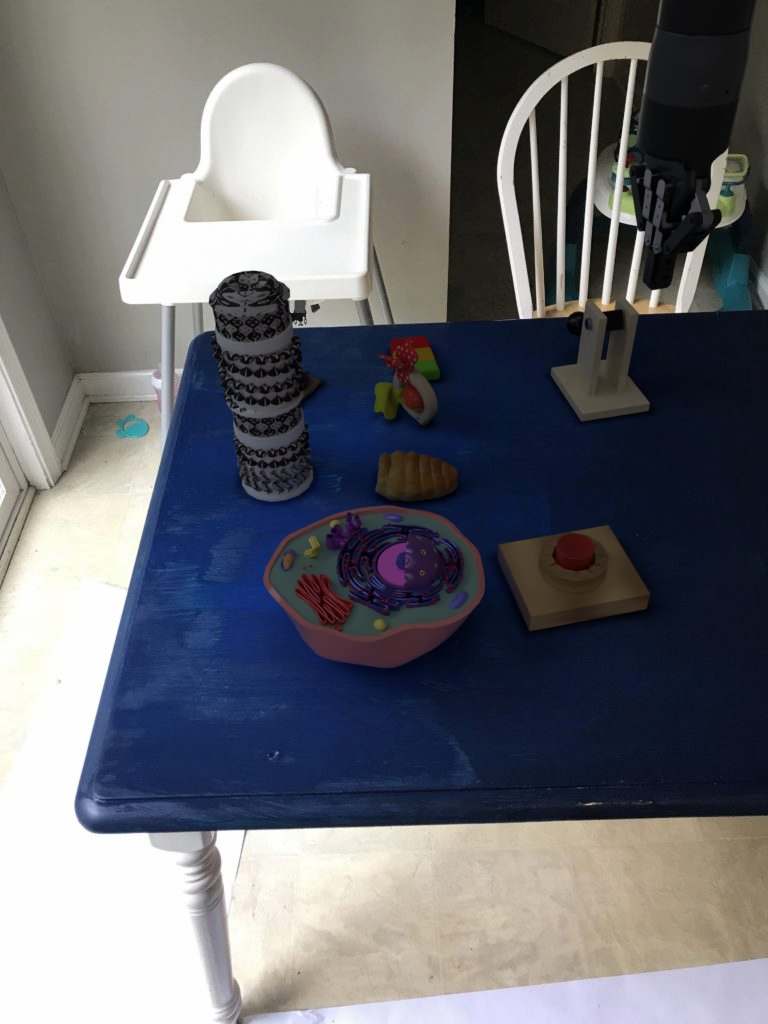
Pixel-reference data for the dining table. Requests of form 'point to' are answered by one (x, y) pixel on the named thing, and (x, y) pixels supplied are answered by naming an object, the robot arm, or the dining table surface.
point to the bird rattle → (406, 387)
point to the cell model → (376, 584)
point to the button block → (571, 581)
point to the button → (574, 552)
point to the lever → (612, 324)
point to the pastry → (414, 477)
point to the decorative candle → (262, 384)
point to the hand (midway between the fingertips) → (655, 285)
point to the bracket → (602, 368)
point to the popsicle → (420, 356)
